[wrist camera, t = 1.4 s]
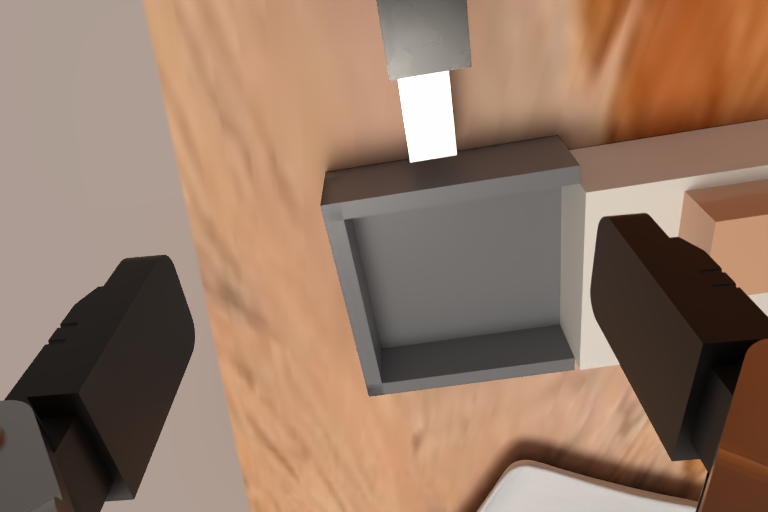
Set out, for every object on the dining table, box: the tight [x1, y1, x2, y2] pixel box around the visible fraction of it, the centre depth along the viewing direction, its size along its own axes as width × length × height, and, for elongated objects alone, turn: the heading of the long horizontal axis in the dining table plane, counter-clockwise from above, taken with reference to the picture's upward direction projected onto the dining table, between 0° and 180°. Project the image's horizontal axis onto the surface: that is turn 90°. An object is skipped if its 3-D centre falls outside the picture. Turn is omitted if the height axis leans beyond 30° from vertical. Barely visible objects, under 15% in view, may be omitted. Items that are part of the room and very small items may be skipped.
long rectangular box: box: [560, 119, 768, 370], centre depth 32 cm, size 12×16×5 cm
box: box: [320, 135, 580, 396], centre depth 34 cm, size 14×13×4 cm
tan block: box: [678, 179, 768, 295], centre depth 27 cm, size 4×4×3 cm
